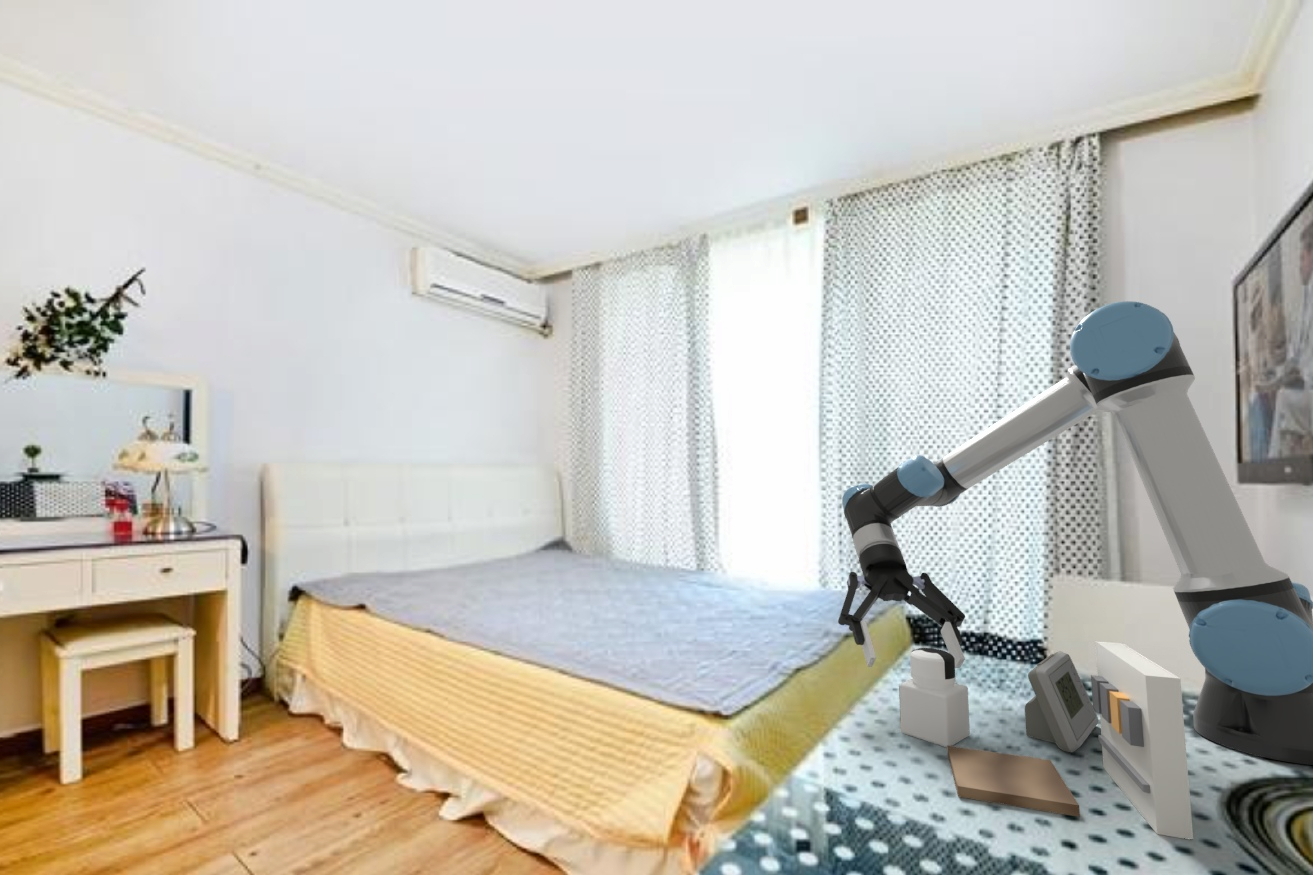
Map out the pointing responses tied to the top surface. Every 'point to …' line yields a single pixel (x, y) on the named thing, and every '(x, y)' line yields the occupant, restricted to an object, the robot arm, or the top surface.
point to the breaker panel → (1143, 736)
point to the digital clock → (1059, 704)
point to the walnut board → (1010, 780)
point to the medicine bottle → (934, 699)
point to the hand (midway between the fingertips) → (915, 663)
